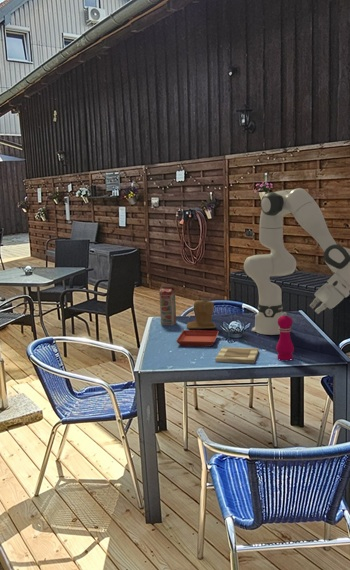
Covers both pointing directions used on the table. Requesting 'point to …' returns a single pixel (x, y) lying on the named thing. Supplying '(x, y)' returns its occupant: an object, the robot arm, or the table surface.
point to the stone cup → (202, 315)
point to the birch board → (237, 355)
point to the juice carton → (167, 304)
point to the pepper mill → (285, 338)
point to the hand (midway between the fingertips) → (313, 309)
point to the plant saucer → (197, 338)
